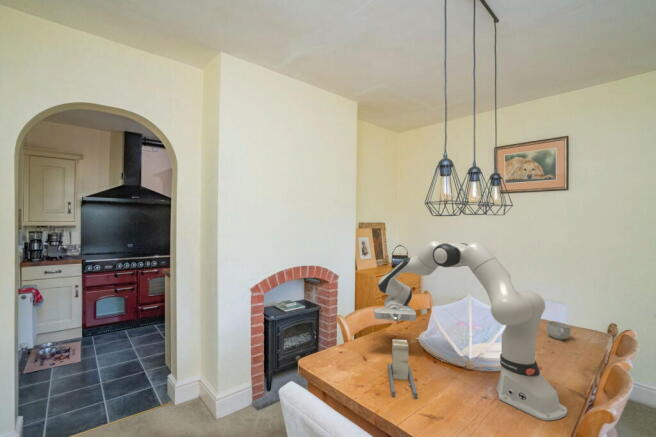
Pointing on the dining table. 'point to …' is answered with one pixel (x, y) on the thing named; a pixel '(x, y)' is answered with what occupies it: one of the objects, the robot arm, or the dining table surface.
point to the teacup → (558, 330)
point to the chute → (409, 380)
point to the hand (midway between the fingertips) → (396, 319)
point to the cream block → (400, 359)
